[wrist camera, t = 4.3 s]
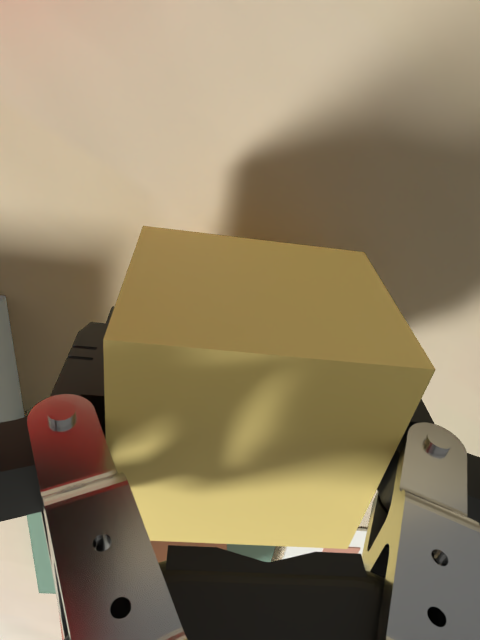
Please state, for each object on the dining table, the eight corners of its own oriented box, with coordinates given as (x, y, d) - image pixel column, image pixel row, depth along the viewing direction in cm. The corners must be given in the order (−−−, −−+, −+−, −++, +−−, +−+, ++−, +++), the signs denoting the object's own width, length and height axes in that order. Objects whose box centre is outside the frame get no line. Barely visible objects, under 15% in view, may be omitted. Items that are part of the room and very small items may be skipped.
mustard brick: (143, 225, 12) (102, 339, 8) (363, 252, 13) (435, 369, 8) (138, 395, 15) (108, 538, 11) (313, 408, 16) (347, 548, 12)
